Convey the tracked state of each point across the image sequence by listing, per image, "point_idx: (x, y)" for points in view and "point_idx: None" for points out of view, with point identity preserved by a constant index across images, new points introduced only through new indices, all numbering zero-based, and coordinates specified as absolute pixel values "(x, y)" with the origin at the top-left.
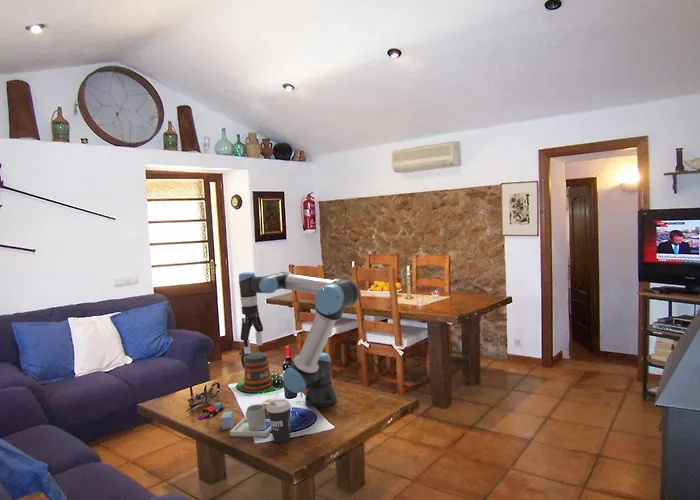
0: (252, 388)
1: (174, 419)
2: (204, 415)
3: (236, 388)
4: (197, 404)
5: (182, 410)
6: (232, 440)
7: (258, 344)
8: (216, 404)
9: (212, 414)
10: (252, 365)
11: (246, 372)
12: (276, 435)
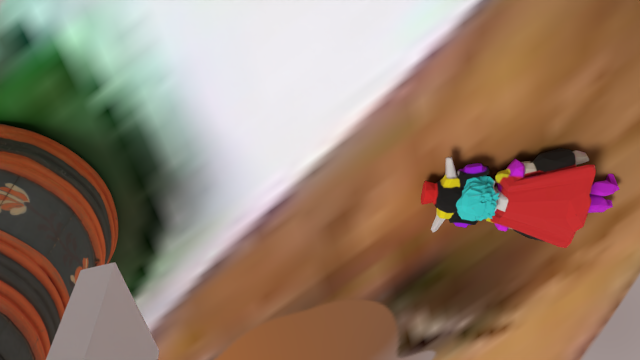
0: (107, 200)
1: (609, 308)
2: (600, 186)
3: None
4: (412, 339)
5: (498, 350)
6: None
7: (141, 332)
8: (493, 207)
9: (574, 156)
10: (33, 317)
11: None
12: None
